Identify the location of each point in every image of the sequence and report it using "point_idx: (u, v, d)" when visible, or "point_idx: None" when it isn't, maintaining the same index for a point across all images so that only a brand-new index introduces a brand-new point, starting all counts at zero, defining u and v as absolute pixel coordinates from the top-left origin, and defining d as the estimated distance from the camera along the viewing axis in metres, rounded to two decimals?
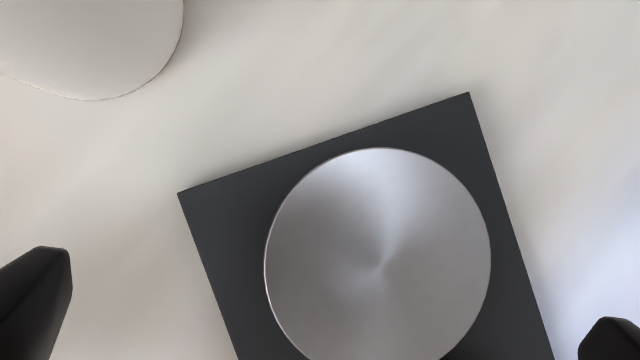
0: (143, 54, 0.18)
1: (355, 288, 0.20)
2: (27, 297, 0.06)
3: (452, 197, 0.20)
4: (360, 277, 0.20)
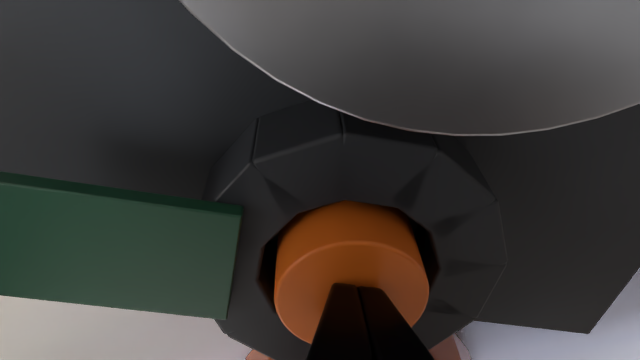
0: None
1: None
2: (366, 335, 0.07)
3: None
4: None
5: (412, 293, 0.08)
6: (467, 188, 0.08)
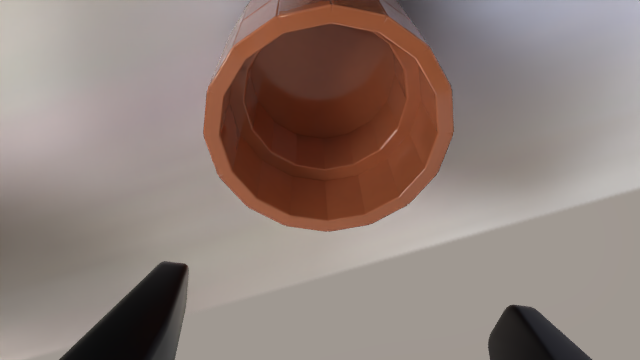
0: None
1: None
2: (170, 312, 0.06)
3: None
4: None
5: None
6: None
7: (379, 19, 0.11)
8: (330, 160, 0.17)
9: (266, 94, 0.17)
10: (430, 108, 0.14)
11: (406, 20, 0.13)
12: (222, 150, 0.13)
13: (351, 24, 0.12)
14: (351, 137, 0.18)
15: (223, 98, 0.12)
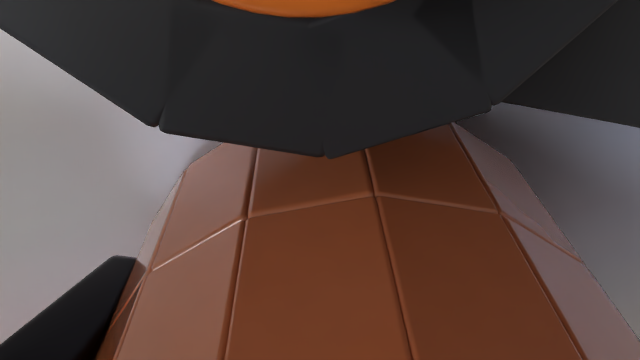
0: None
1: None
2: (114, 307, 0.06)
3: None
4: None
5: None
6: None
7: None
8: None
9: None
10: None
11: (597, 299, 0.05)
12: None
13: None
14: None
15: None
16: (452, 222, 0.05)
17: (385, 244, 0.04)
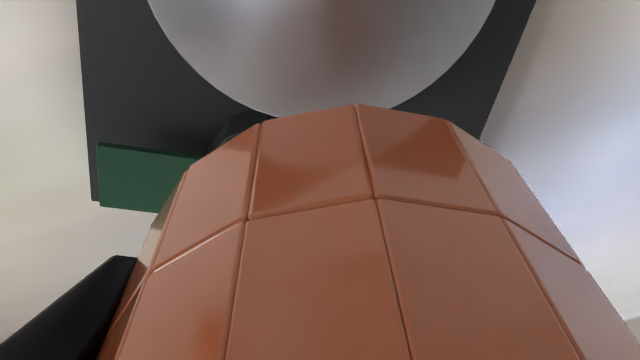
0: None
1: None
2: (114, 307, 0.06)
3: None
4: None
5: None
6: None
7: None
8: None
9: None
10: None
11: (596, 301, 0.05)
12: None
13: None
14: None
15: None
16: (452, 224, 0.05)
17: (385, 247, 0.04)
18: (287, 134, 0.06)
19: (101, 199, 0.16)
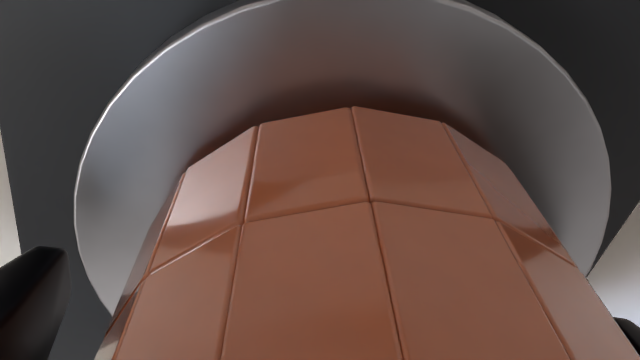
0: None
1: None
2: (25, 297, 0.06)
3: (569, 223, 0.09)
4: None
5: None
6: None
7: None
8: None
9: None
10: None
11: (589, 303, 0.05)
12: None
13: None
14: None
15: None
16: (446, 227, 0.05)
17: (380, 249, 0.04)
18: (284, 137, 0.06)
19: None
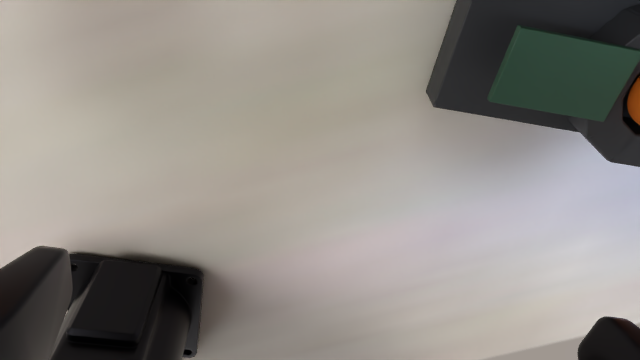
0: None
1: None
2: (27, 297, 0.06)
3: None
4: None
5: None
6: None
7: None
8: None
9: None
10: None
11: None
12: None
13: None
14: None
15: None
16: None
17: None
18: None
19: (495, 93, 0.15)
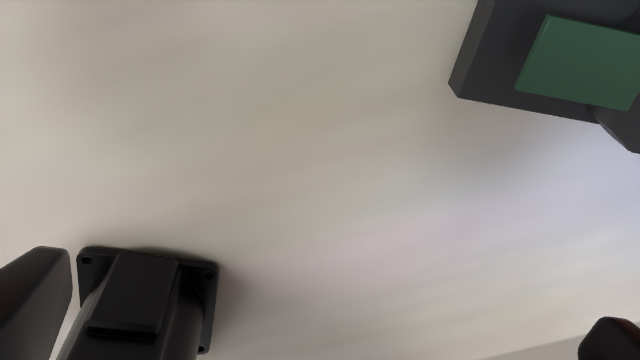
0: None
1: None
2: (27, 297, 0.06)
3: None
4: None
5: None
6: None
7: None
8: None
9: None
10: None
11: None
12: None
13: None
14: None
15: None
16: None
17: None
18: None
19: (523, 81, 0.15)
